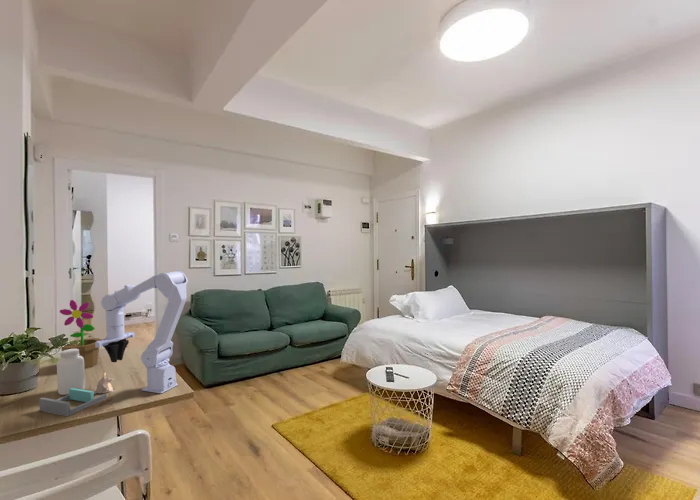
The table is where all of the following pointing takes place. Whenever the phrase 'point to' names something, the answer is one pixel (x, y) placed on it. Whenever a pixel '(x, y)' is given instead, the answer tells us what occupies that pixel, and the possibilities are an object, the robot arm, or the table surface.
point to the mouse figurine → (104, 385)
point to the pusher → (81, 395)
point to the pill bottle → (70, 371)
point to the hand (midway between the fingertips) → (116, 360)
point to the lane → (64, 405)
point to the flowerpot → (85, 345)
